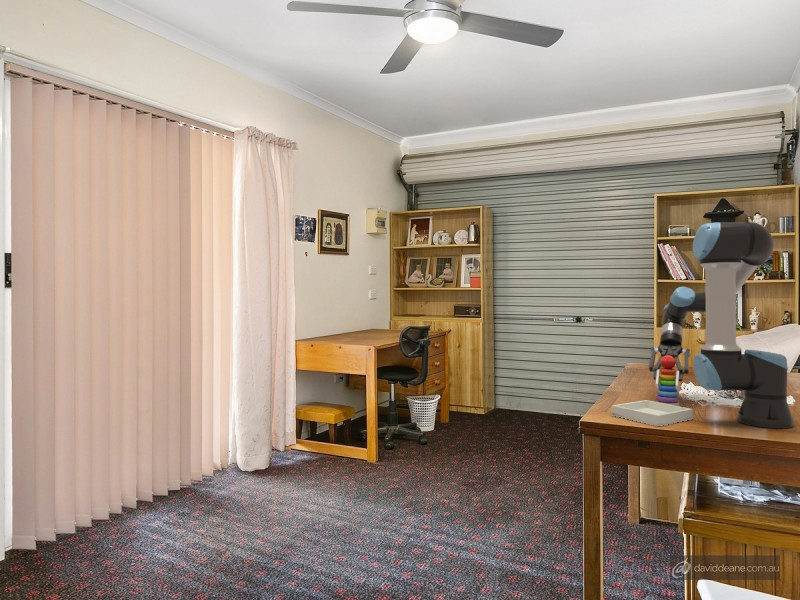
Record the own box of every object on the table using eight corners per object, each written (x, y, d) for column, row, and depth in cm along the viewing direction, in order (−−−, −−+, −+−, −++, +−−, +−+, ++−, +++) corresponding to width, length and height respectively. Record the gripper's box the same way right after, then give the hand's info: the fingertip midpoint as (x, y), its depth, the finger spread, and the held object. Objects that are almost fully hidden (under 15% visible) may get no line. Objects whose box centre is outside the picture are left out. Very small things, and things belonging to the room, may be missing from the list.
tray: (692, 419, 194) (692, 409, 193) (658, 426, 184) (658, 415, 184) (645, 409, 209) (645, 399, 209) (611, 415, 200) (611, 405, 200)
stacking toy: (682, 409, 209) (682, 357, 209) (658, 408, 211) (658, 356, 210) (676, 404, 217) (676, 354, 216) (653, 404, 218) (653, 354, 218)
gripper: (699, 344, 222) (696, 395, 208) (645, 342, 231) (639, 390, 217) (698, 332, 217) (695, 382, 203) (644, 330, 226) (637, 378, 213)
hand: (666, 386), depth 210 cm, fingers closed on stacking toy, 6 cm apart
